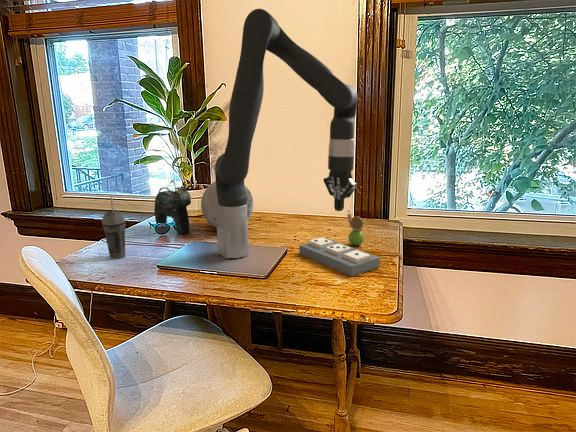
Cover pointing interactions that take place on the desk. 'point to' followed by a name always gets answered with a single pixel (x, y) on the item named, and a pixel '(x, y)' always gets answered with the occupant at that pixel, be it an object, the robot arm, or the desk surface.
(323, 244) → the tile two dots
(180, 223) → the dark animal figurine
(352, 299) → the desk surface
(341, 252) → the tile three dots
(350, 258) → the tile one dot
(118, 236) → the beverage cup
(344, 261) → the socket board
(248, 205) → the moon model
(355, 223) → the snail figurine
